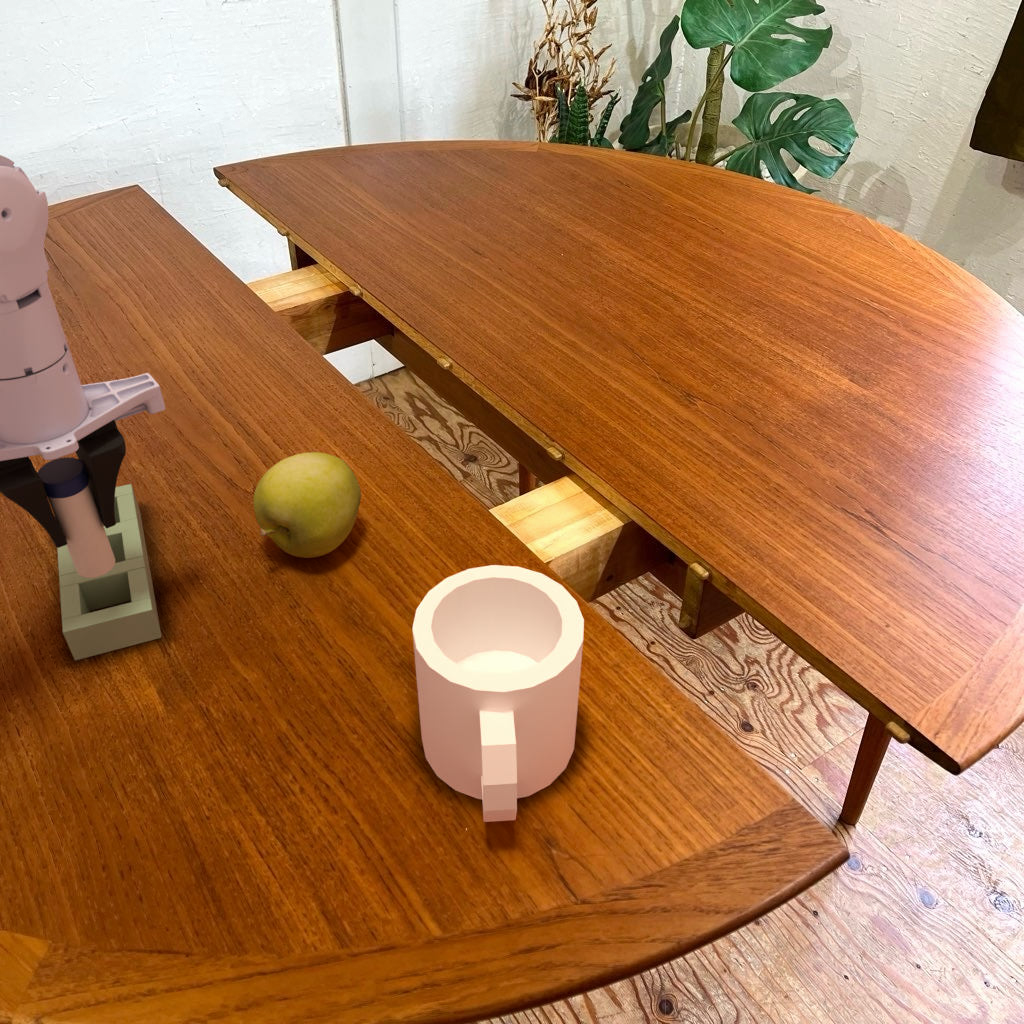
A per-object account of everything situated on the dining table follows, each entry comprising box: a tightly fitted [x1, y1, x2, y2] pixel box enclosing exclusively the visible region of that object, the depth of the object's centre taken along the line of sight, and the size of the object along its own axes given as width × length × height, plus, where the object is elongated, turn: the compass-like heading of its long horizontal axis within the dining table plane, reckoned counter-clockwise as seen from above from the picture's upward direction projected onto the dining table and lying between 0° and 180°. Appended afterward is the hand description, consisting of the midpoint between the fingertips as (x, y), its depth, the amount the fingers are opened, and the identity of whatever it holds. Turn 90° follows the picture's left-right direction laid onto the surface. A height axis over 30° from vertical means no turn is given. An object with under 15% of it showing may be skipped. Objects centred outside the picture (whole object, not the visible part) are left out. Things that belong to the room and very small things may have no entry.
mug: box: [411, 564, 585, 823], centre depth 59 cm, size 14×10×11 cm
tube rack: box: [56, 483, 162, 661], centre depth 74 cm, size 15×6×3 cm, turn 22°
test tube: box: [37, 456, 115, 578], centre depth 64 cm, size 3×3×8 cm
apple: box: [252, 451, 362, 559], centre depth 75 cm, size 8×9×8 cm
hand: (81, 528), depth 65 cm, fingers closed on test tube, 3 cm apart
